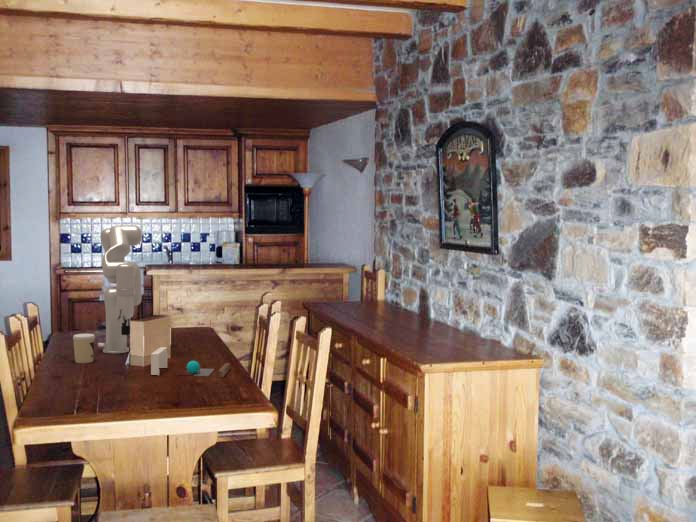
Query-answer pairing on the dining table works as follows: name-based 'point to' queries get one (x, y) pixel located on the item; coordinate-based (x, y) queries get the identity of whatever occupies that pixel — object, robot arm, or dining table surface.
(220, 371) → the stopper wall
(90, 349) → the coffee cup
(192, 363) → the ball
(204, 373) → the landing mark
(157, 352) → the bridge
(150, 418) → the dining table surface
